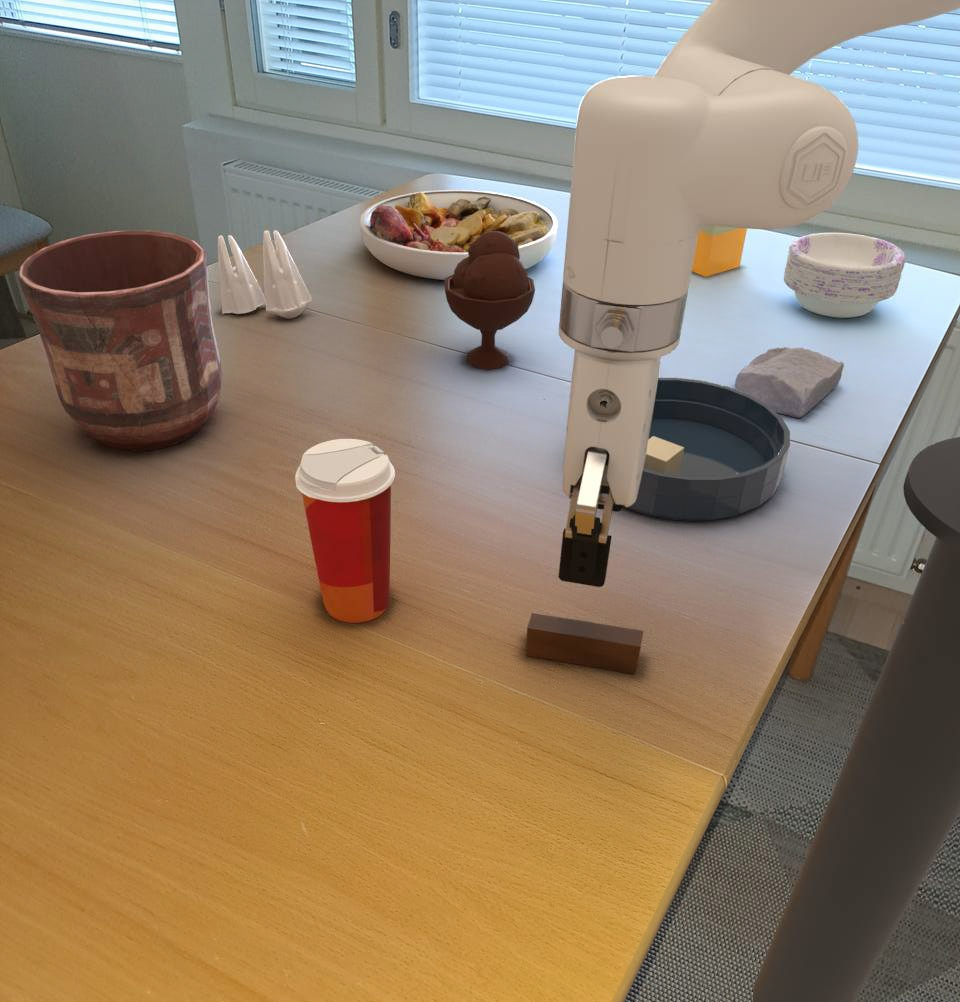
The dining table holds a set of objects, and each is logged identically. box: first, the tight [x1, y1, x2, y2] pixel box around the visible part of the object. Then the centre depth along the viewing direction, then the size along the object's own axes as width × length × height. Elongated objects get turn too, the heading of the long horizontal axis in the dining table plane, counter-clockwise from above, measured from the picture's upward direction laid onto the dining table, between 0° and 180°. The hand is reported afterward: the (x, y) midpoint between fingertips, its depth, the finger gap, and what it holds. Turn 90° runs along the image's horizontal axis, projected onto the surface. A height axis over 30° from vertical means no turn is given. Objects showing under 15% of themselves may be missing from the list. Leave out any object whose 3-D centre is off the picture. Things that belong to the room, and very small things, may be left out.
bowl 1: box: [359, 189, 559, 281], centre depth 144 cm, size 30×30×8 cm
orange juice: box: [691, 226, 748, 278], centre depth 138 cm, size 8×9×20 cm
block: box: [643, 436, 684, 475], centre depth 95 cm, size 4×4×4 cm
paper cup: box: [294, 438, 396, 624], centre depth 77 cm, size 8×8×14 cm
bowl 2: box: [622, 377, 791, 522], centre depth 98 cm, size 21×21×5 cm
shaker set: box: [217, 229, 313, 319], centre depth 124 cm, size 12×4×11 cm, turn 75°
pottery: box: [17, 230, 223, 452], centre depth 98 cm, size 18×18×18 cm
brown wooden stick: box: [525, 612, 644, 675], centre depth 76 cm, size 9×2×3 cm, turn 77°
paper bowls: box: [783, 232, 907, 319], centre depth 130 cm, size 15×15×8 cm
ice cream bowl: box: [444, 231, 536, 371], centre depth 113 cm, size 11×11×15 cm
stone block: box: [734, 346, 845, 419], centre depth 112 cm, size 12×5×10 cm
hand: (591, 542), depth 69 cm, fingers open, 9 cm apart
